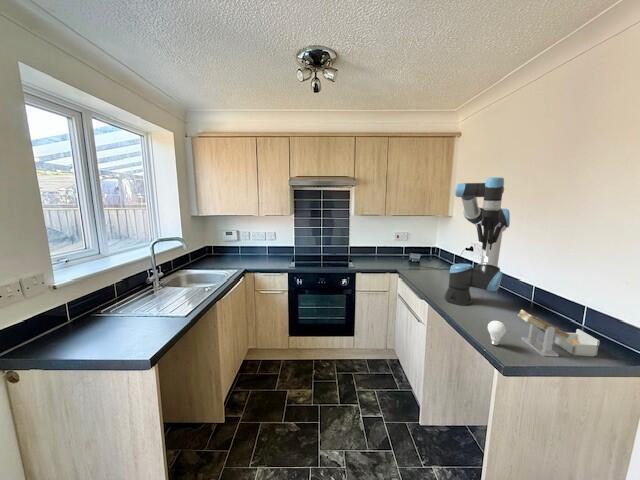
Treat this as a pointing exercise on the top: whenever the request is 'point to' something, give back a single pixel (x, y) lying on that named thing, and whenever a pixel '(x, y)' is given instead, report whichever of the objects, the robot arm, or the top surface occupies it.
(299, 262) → the top surface
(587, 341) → the tray
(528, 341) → the stand
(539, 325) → the lever
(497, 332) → the light bulb
